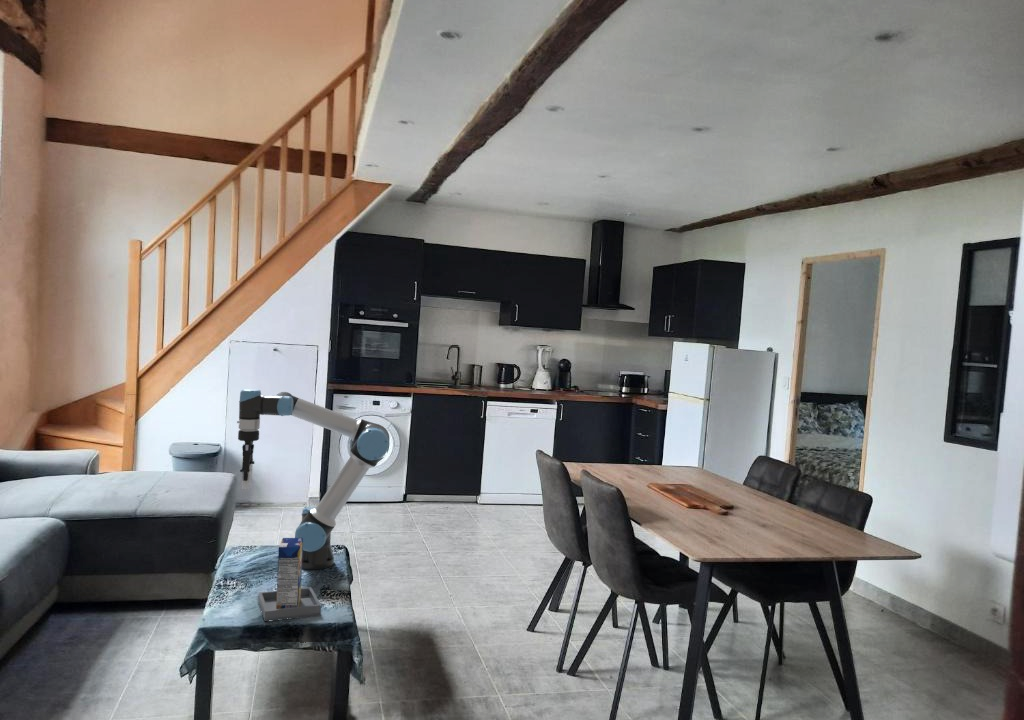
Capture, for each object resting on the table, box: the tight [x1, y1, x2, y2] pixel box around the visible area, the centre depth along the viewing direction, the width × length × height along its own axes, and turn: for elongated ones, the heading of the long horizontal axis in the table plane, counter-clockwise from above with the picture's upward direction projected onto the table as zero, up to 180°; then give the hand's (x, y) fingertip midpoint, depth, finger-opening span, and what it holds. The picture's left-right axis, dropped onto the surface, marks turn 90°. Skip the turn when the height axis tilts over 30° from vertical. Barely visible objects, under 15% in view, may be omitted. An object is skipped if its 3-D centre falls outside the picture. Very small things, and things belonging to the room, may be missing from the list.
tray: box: [257, 586, 322, 621], centre depth 249 cm, size 18×18×4 cm
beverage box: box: [276, 537, 303, 609], centre depth 249 cm, size 7×11×22 cm, turn 11°
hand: (246, 485), depth 279 cm, fingers open, 13 cm apart
